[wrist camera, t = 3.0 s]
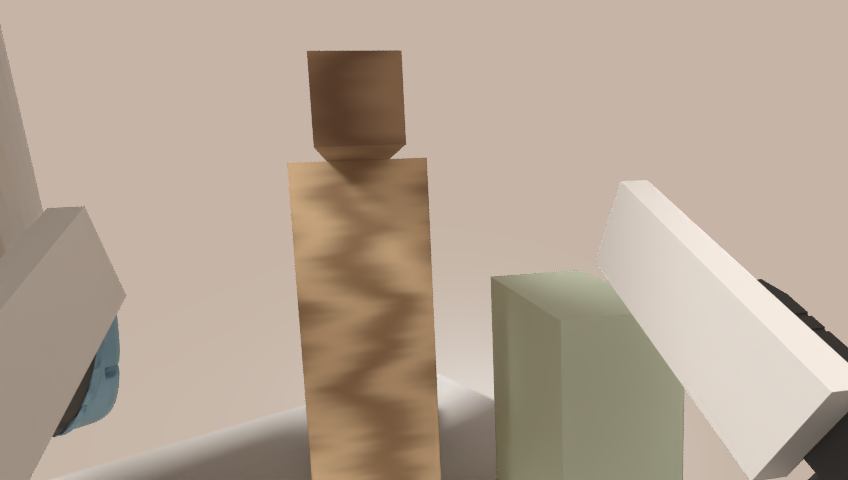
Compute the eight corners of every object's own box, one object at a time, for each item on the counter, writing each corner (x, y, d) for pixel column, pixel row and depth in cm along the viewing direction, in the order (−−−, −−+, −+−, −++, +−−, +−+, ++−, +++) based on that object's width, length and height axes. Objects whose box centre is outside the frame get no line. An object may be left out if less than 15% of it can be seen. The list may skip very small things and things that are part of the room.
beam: (301, 147, 20) (285, -77, 19) (330, 170, 44) (323, 71, 43) (417, 143, 21) (407, -72, 20) (383, 168, 44) (377, 71, 43)
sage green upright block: (564, 629, 29) (560, 320, 27) (497, 489, 43) (490, 276, 41) (680, 607, 30) (685, 309, 28) (578, 477, 44) (576, 270, 42)
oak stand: (320, 590, 33) (287, 162, 29) (329, 485, 45) (306, 170, 41) (445, 569, 34) (426, 157, 31) (421, 472, 46) (406, 166, 43)
